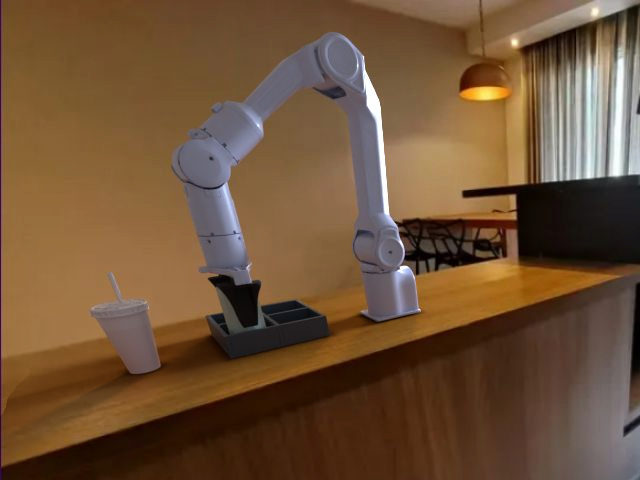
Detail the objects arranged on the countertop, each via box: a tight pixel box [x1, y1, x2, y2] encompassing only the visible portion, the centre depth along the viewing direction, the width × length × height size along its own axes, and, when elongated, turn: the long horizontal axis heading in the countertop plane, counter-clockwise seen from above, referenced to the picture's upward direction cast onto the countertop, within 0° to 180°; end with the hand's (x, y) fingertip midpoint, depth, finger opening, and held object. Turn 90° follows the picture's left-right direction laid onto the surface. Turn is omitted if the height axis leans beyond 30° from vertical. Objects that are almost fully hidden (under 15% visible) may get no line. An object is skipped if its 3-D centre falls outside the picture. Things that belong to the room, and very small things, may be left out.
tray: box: [205, 299, 331, 360], centre depth 76 cm, size 15×15×4 cm
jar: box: [215, 287, 266, 335], centre depth 70 cm, size 5×5×8 cm
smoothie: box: [88, 271, 162, 375], centre depth 62 cm, size 6×6×14 cm
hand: (246, 322), depth 71 cm, fingers closed on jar, 5 cm apart
